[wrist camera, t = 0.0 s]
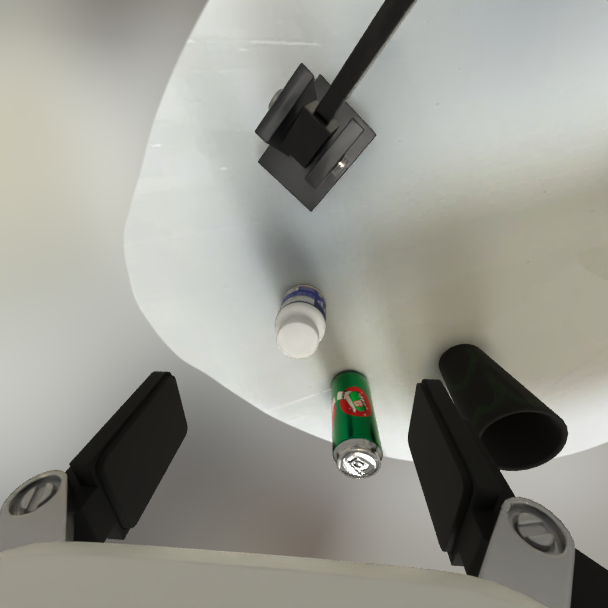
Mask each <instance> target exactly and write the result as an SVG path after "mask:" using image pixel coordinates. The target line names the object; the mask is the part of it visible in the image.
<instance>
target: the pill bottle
mask: <svg viewBox="0 0 608 608" xmlns="http://www.w3.org/2000/svg"><path fill="white" fill-rule="evenodd" d="M325 328H326V303H325V299H324V297H323V295H322V294H321V292H320V291H319V290H317V289H316V288H314V287H312V286H309V285H298V286H295V287H293V288H291V289H290V290H289V291H288V292H287V293H286V294H285V296H284V298H283V301H282V304H281V307H280V310H279V312H278V314H277V317H276V321H275V331H276V334H277V345H278V347H279V349H280V350H281V351H282V353H284V354H285V355H286V356H288V357H291V358H295V359H302V358H306V357H309V356H310V355H312V354H313V353H314V352H315V351H316V349H317V347H318V343H319V342H320V341H321V339H322V338H323V336H324V333H325Z"/></svg>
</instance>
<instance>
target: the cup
mask: <svg viewBox="0 0 608 608" xmlns="http://www.w3.org/2000/svg"><path fill="white" fill-rule="evenodd" d="M439 368H440V371H441V374H442V376H443V378H444V381H445V383H446V385H447V388H448V390H449V392H450V395H451V397H452V399H453V402H454V404H455V406H456V408H457V410H458V412H459V413H460V415H461V417H462V418H467V419H468V420H469V421H470V422H471V423H472V425H473V426H474V428H475V430H476V431H477V433H478V435H479V437H480V438H481V440H482V442H483V443H484V445H485V447H486V448H487V450H488V452H489V453H490V455H491V457H492V458H493V460H494V462H495V463H496V465H497V467H498V468H499V469H500V470H506V471H519V470H527V469H530V468H534V467H537V466H540V465H542V464H544V463H546V462H548V461H549V460H551V459H552V458H554V457H555V456H556V455H557V454H558V453H559V452H560V451H561V450H562V449H563V447H564V445H565V444H566V441H567V436H568V431H567V426H566V424H565V423H564V421H563V419H561V418H560V417H559V416H558V415H557V414H556V413H554V412H553V411H552V410H551V409H550V408H549V407H547V406H546V405H545V404H544V403H543V402H541V401H540V400H539V399H538V398H537V397H536V396H534V395H533V394H532V393H531V392H530V391H529V390H527V389H526V388H525V387H524V386H523V385H522V384H520V383H519V382H518V381H517V380H516V379H515V378H513V377H512V376H511V375H510V374H509V373H508V372H506V371H505V370H504V369H503V368H502V367H501V366H499V365H498V364H497V363H496V362H495V361H494V360H492V359H491V358H490V357H489V356H488V355H487V354H485V353H484V352H483V351H482V350H481V349H479V348H478V347H476V346H474V345H470V344H461V345H456V346H454V347H452V348H450V349H449V350H447V351H446V352H445V353H444V354H443V355H442V357H441V358H440V362H439Z"/></svg>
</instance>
